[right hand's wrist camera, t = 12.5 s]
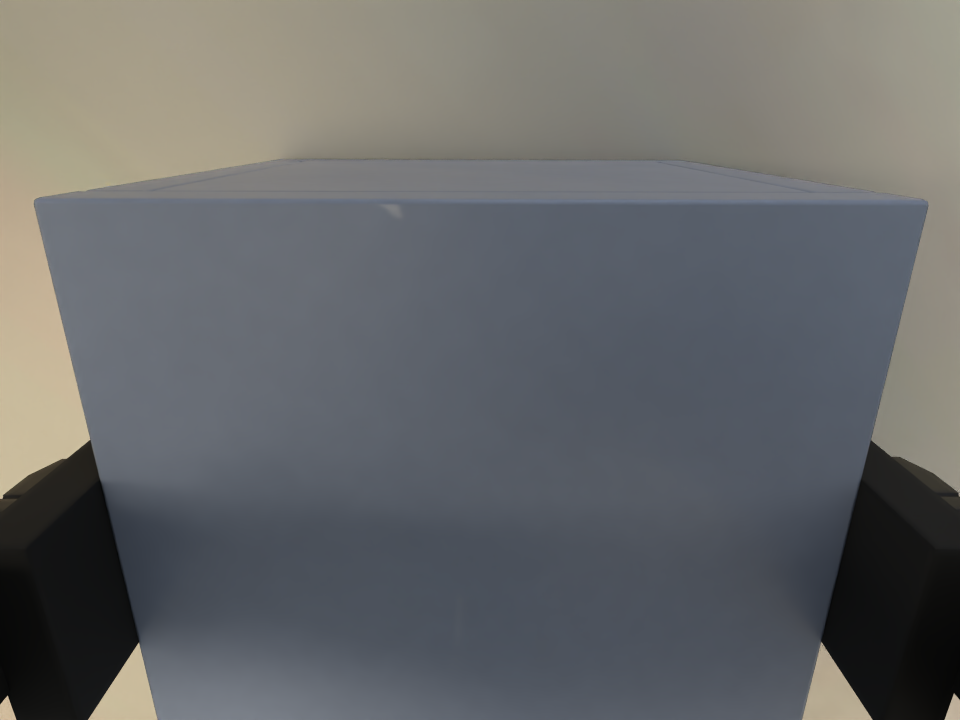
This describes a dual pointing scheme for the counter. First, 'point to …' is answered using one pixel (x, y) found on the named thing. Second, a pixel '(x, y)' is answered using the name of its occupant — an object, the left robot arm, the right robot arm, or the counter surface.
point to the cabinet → (480, 429)
